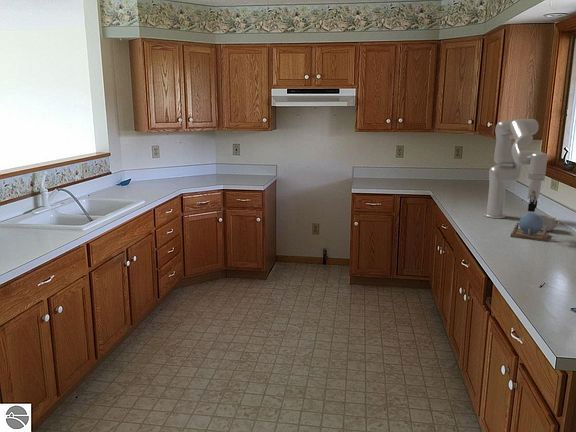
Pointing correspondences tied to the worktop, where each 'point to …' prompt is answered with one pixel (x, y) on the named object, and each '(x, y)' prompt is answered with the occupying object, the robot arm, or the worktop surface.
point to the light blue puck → (530, 223)
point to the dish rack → (540, 235)
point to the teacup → (549, 222)
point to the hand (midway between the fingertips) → (532, 209)
